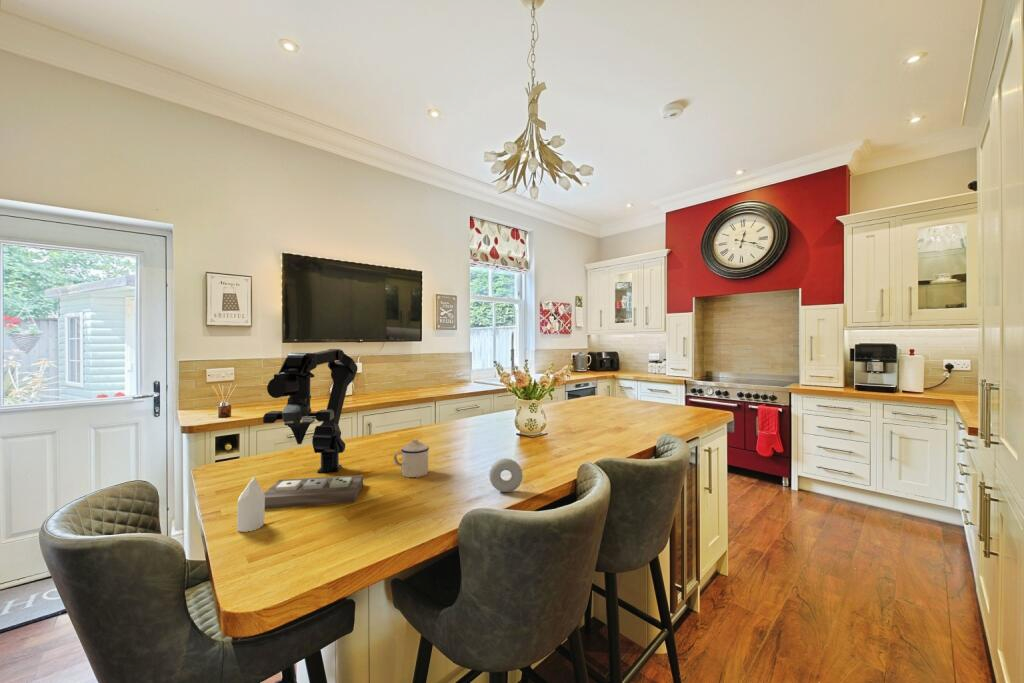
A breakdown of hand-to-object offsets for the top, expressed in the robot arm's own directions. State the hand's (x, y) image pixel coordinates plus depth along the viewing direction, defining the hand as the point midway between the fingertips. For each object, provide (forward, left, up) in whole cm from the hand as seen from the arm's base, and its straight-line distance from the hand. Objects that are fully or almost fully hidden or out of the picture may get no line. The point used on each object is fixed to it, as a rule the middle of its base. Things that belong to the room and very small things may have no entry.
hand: (299, 444), depth 122 cm
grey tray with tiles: (+9, +7, -13) cm, 17 cm away
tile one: (+9, 0, -12) cm, 15 cm away
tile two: (+9, +7, -12) cm, 16 cm away
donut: (+16, +62, -13) cm, 65 cm away
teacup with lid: (-6, +33, -13) cm, 36 cm away
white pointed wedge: (+26, -2, -13) cm, 30 cm away
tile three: (+9, +14, -12) cm, 20 cm away
